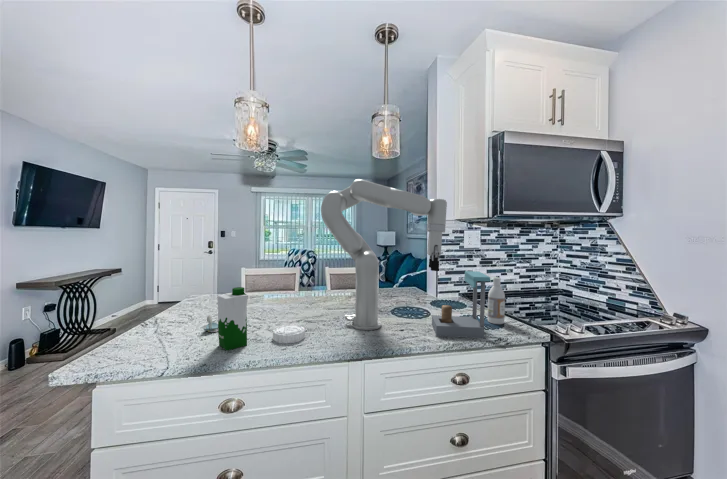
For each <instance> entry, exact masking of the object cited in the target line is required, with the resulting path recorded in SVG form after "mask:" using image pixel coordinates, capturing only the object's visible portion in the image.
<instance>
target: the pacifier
mask: <svg viewBox="0 0 727 479" xmlns="http://www.w3.org/2000/svg"><path fill="white" fill-rule="evenodd" d="M206 321H207V323H208V324H206V326H205V328H203V330H204V331H207V332H208V333H217V332H218V322H213V319H212V316H211V315H208V316H207V317H206Z"/></svg>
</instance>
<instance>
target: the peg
mask: <svg viewBox="0 0 727 479" xmlns="http://www.w3.org/2000/svg"><path fill="white" fill-rule="evenodd" d="M452 314H453V306H452V305H448V304H444V305H441V316H442V320H441V323H452V316H453V315H452Z"/></svg>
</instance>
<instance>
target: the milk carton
mask: <svg viewBox="0 0 727 479" xmlns="http://www.w3.org/2000/svg"><path fill="white" fill-rule="evenodd" d="M231 291H232V292H230V293H229V292H227V293H224V294H218V295H216V296H217V324H218V328H217V330H218V333H217V334H218V336H217V337H218V345H219V346H220V347H221V348H222V349H223V350H225V351H231V349H232V350H234V349H235V350H236V349H238V348H242V347H246V346H248V314H247V313H248V300H249V295H248V294H246V293H245V287H243V286H240V287H239V286H237V287H233V288H232V290H231Z"/></svg>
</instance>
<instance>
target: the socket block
mask: <svg viewBox="0 0 727 479" xmlns="http://www.w3.org/2000/svg"><path fill="white" fill-rule="evenodd" d="M472 317H473V316H461V315H460V316H457V315H456V316H455V315H452V323H441V320H442V315H434V314H432V315H431V326H432V328H433V331H434V334H435V336H436V337H450V338H451V337H452V338H455V337H456V338H473V339H474V338H475V339H476V338H478V339H485V326H484V327H480V320H478V318H476V319H474V318H472Z"/></svg>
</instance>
